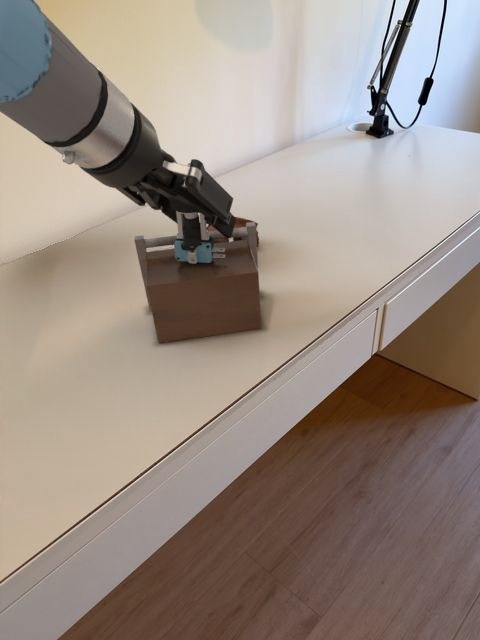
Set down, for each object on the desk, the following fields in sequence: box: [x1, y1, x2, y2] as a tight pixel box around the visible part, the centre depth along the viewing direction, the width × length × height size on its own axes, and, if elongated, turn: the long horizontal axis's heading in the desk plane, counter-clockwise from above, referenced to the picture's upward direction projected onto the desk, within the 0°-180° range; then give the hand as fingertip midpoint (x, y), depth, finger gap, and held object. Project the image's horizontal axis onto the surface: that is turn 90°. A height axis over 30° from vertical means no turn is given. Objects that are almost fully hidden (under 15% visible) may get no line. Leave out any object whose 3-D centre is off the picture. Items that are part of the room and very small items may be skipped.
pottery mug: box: [207, 215, 260, 248], centre depth 86 cm, size 12×10×8 cm
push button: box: [167, 197, 226, 264], centre depth 65 cm, size 7×5×10 cm
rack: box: [133, 221, 262, 344], centre depth 71 cm, size 9×16×12 cm, turn 100°
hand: (210, 224), depth 69 cm, fingers closed on push button, 5 cm apart
